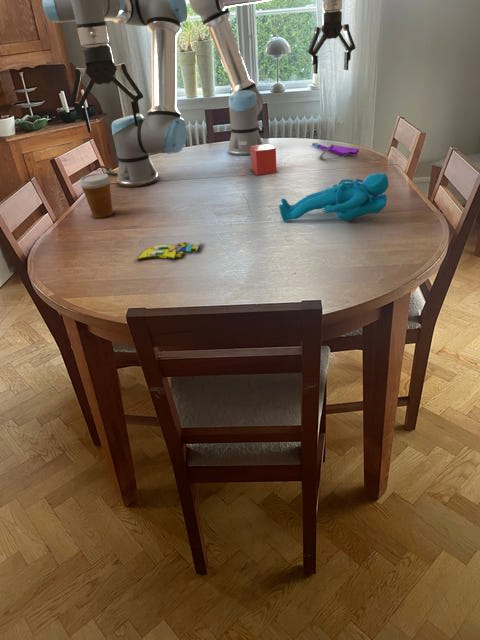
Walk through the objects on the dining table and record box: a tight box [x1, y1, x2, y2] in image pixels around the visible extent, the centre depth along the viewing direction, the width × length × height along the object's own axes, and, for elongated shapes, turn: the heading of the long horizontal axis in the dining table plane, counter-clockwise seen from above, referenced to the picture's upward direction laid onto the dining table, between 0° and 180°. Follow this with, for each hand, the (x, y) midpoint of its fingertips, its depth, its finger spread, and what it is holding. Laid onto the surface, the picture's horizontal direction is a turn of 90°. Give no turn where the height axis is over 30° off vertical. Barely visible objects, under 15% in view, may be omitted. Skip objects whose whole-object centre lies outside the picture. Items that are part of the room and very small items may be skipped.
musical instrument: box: [311, 142, 360, 160], centre depth 196 cm, size 24×2×20 cm
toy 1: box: [137, 241, 202, 262], centre depth 126 cm, size 10×1×15 cm
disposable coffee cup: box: [79, 172, 114, 219], centre depth 152 cm, size 10×10×12 cm
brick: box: [250, 143, 278, 176], centre depth 180 cm, size 8×8×9 cm
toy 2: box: [278, 172, 389, 222], centre depth 135 cm, size 17×11×30 cm
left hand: (113, 128), depth 140 cm, fingers open, 13 cm apart
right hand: (330, 71), depth 200 cm, fingers open, 13 cm apart
